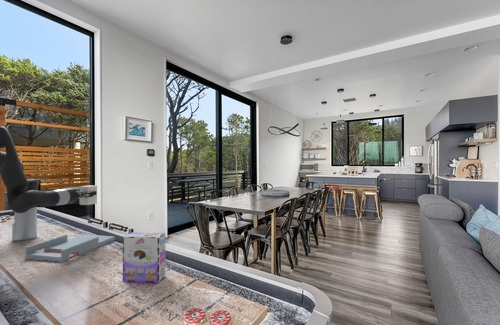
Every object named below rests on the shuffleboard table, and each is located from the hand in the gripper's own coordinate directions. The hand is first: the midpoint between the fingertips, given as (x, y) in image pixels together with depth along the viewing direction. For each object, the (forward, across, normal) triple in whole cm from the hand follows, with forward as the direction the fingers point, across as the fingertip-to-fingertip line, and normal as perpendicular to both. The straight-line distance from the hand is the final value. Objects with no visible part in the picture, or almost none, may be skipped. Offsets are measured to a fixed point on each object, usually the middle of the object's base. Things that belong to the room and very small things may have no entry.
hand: (91, 192), depth 132 cm
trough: (-14, -4, +26) cm, 30 cm away
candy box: (-36, -57, +26) cm, 72 cm away
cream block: (-2, 0, +6) cm, 6 cm away
